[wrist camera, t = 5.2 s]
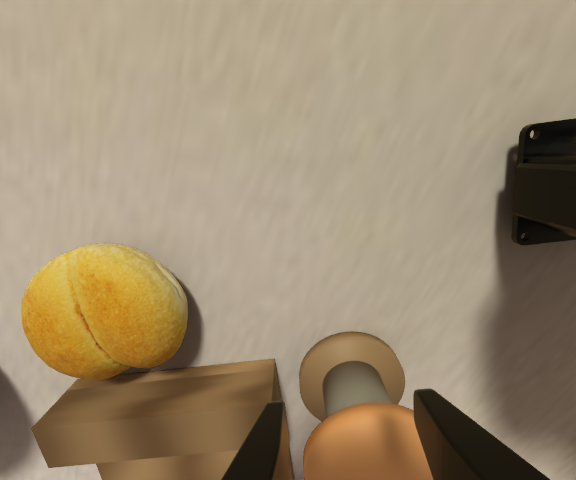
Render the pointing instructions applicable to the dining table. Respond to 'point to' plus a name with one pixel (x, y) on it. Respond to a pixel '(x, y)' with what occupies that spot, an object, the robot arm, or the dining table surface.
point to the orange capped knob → (359, 413)
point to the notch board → (159, 421)
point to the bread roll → (104, 312)
